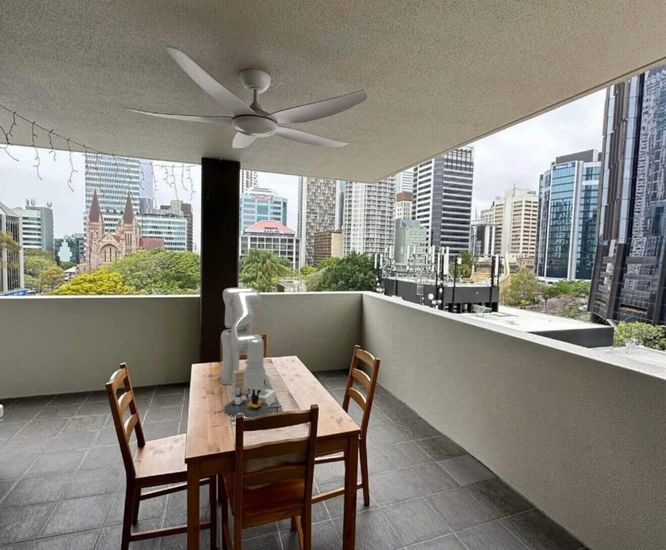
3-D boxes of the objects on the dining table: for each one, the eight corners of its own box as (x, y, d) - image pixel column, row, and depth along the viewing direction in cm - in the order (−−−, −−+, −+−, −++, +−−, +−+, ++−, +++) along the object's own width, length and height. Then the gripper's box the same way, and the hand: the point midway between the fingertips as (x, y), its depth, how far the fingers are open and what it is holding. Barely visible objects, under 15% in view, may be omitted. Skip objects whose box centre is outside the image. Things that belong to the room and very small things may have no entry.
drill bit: (233, 412, 164) (233, 388, 163) (237, 409, 167) (237, 385, 167) (239, 413, 163) (239, 389, 162) (243, 410, 166) (244, 386, 166)
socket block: (224, 414, 162) (224, 406, 161) (236, 405, 171) (236, 398, 171) (257, 421, 156) (257, 412, 156) (268, 411, 166) (268, 403, 166)
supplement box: (234, 397, 182) (234, 373, 181) (232, 393, 186) (232, 370, 185) (249, 394, 186) (249, 370, 185) (247, 390, 190) (247, 368, 189)
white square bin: (247, 406, 170) (247, 395, 170) (258, 398, 180) (258, 387, 180) (265, 410, 167) (265, 398, 167) (274, 401, 177) (275, 390, 177)
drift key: (247, 413, 161) (247, 403, 160) (253, 409, 165) (253, 399, 165) (256, 415, 159) (256, 404, 159) (262, 410, 164) (262, 400, 164)
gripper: (237, 364, 160) (237, 402, 161) (265, 368, 155) (265, 407, 156) (245, 360, 167) (245, 396, 168) (273, 363, 162) (272, 401, 163)
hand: (255, 401), depth 162 cm, fingers closed
